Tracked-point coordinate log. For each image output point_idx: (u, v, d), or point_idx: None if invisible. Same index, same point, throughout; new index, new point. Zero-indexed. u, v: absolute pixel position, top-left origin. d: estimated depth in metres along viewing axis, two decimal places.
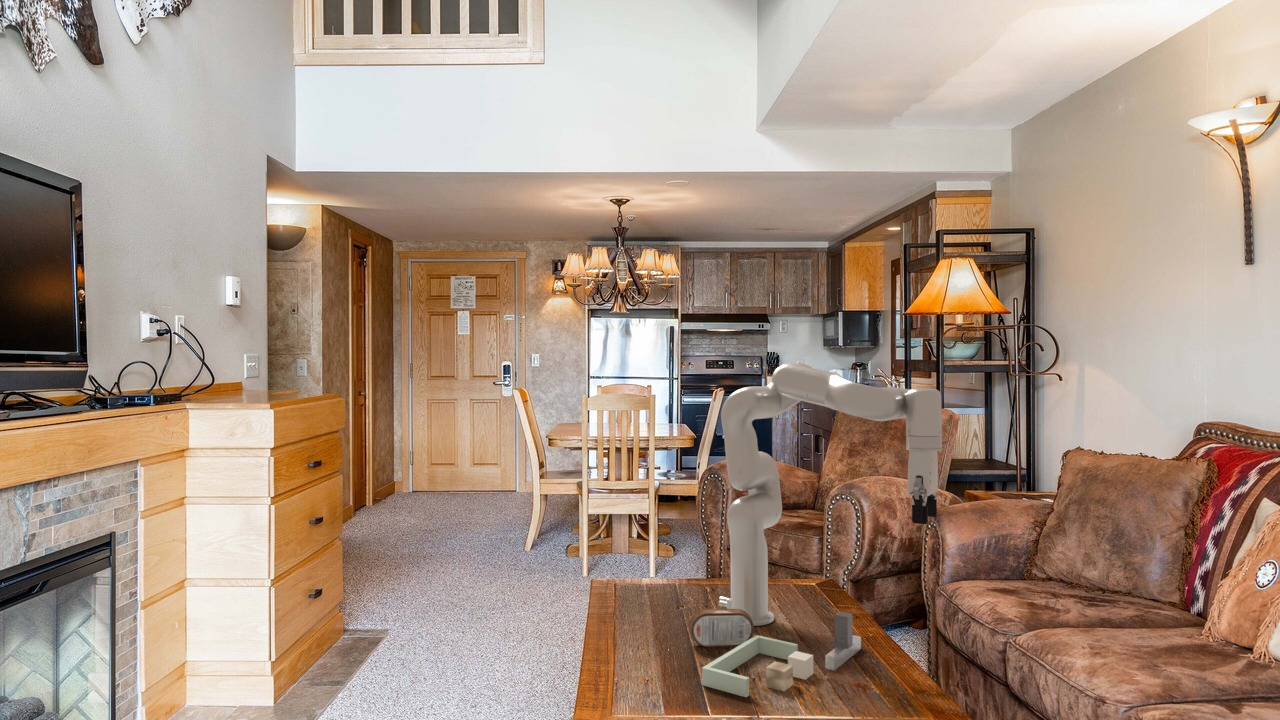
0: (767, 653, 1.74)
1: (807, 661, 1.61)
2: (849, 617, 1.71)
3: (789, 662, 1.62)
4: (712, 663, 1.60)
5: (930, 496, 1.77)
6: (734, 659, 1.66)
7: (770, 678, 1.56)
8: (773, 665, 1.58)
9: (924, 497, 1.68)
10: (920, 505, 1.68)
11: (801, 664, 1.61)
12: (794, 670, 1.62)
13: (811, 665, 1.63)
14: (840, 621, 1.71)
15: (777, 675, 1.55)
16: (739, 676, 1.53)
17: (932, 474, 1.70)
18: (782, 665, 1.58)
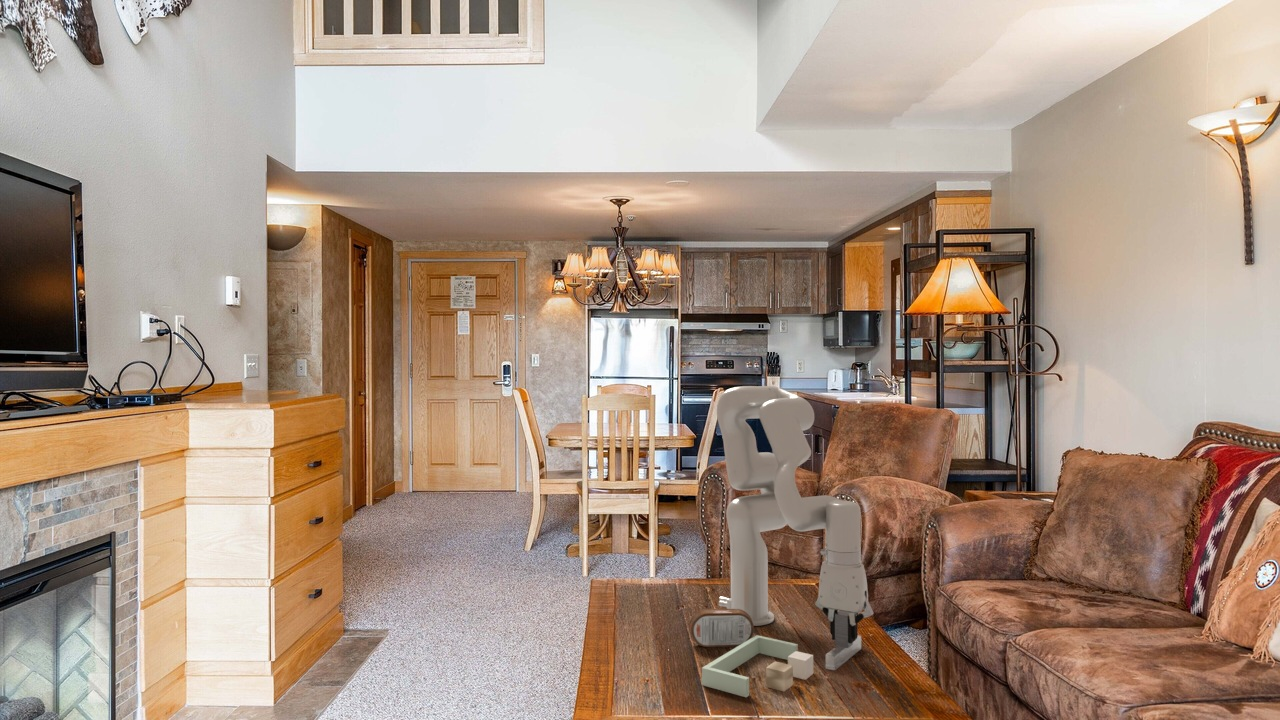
0: (767, 653, 1.74)
1: (807, 661, 1.61)
2: None
3: (789, 662, 1.62)
4: (712, 663, 1.60)
5: None
6: (734, 659, 1.66)
7: (770, 679, 1.56)
8: (773, 665, 1.58)
9: None
10: None
11: (801, 664, 1.61)
12: (794, 670, 1.62)
13: (811, 665, 1.63)
14: (840, 620, 1.71)
15: (777, 675, 1.55)
16: (739, 676, 1.53)
17: None
18: (782, 665, 1.58)
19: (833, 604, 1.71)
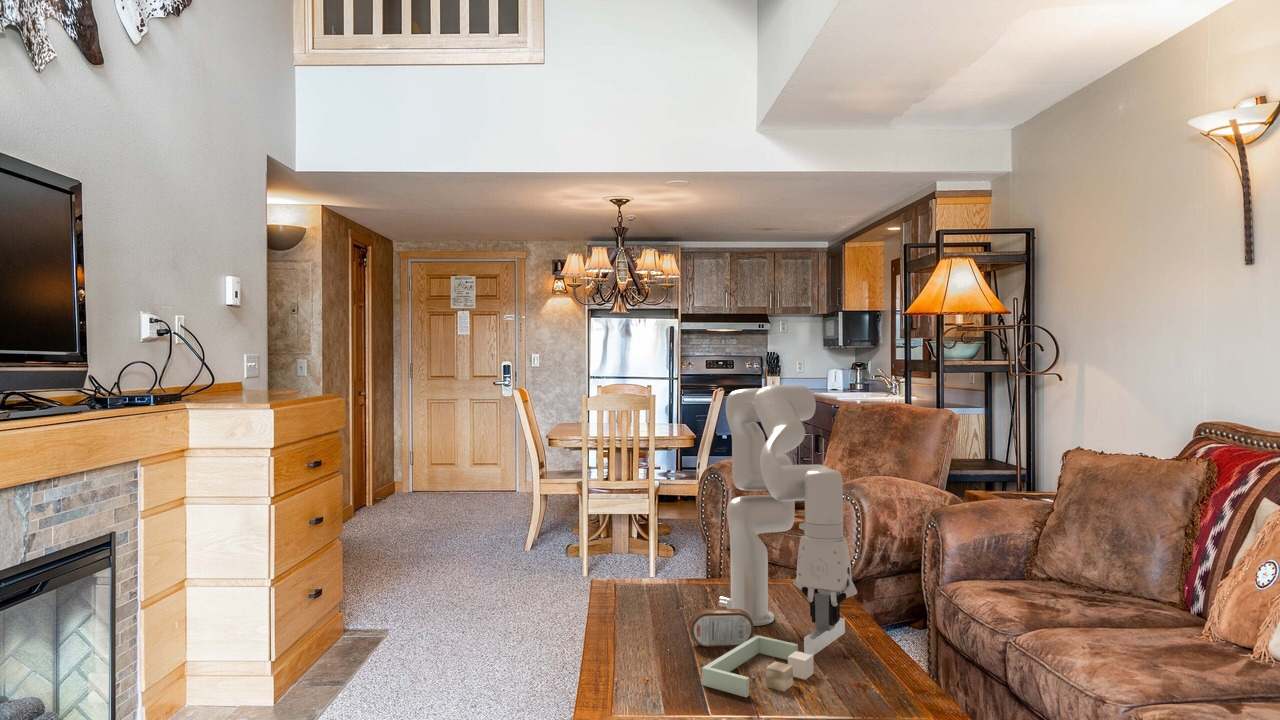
0: (767, 653, 1.74)
1: (807, 661, 1.61)
2: None
3: (789, 662, 1.62)
4: (712, 663, 1.60)
5: None
6: (734, 659, 1.66)
7: (770, 679, 1.56)
8: (773, 665, 1.58)
9: None
10: (839, 603, 1.54)
11: (801, 664, 1.61)
12: (794, 670, 1.62)
13: (811, 665, 1.63)
14: (821, 600, 1.55)
15: (777, 675, 1.55)
16: (739, 676, 1.53)
17: None
18: (782, 665, 1.58)
19: (813, 582, 1.54)
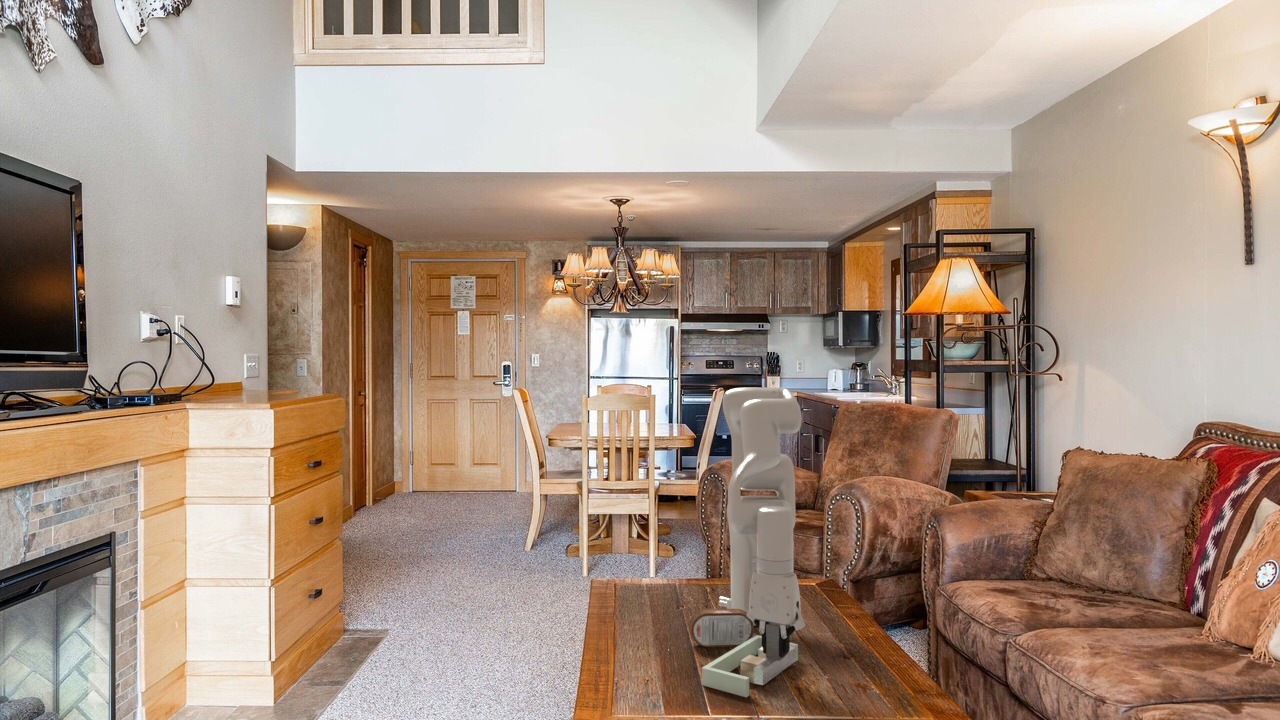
0: None
1: None
2: None
3: (759, 654, 1.66)
4: (712, 663, 1.60)
5: None
6: (734, 659, 1.66)
7: (744, 671, 1.59)
8: (747, 658, 1.61)
9: None
10: (789, 636, 1.61)
11: None
12: None
13: None
14: (771, 631, 1.61)
15: (751, 668, 1.59)
16: (739, 676, 1.53)
17: None
18: (756, 658, 1.61)
19: (764, 616, 1.61)
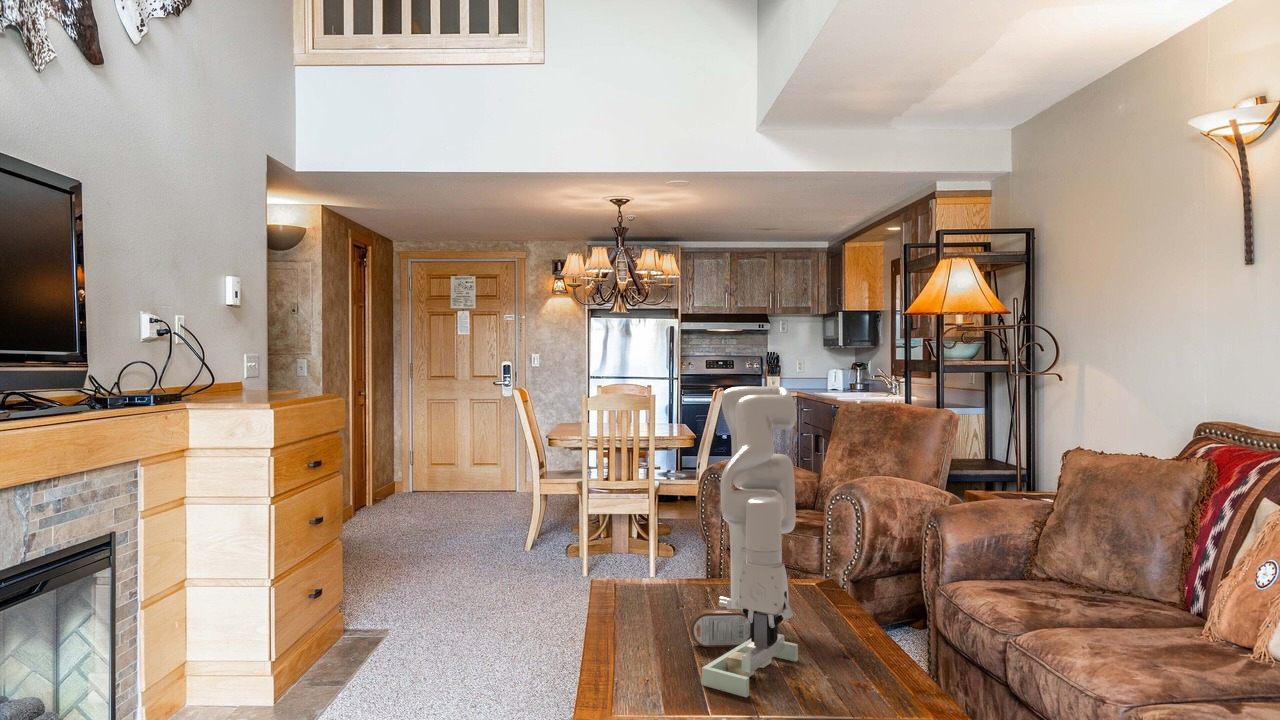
0: None
1: None
2: None
3: (747, 651, 1.68)
4: (712, 663, 1.60)
5: None
6: None
7: (731, 668, 1.61)
8: (734, 655, 1.63)
9: None
10: (777, 625, 1.63)
11: None
12: None
13: None
14: (759, 620, 1.63)
15: (738, 664, 1.61)
16: (739, 676, 1.53)
17: None
18: (743, 654, 1.63)
19: (752, 605, 1.63)
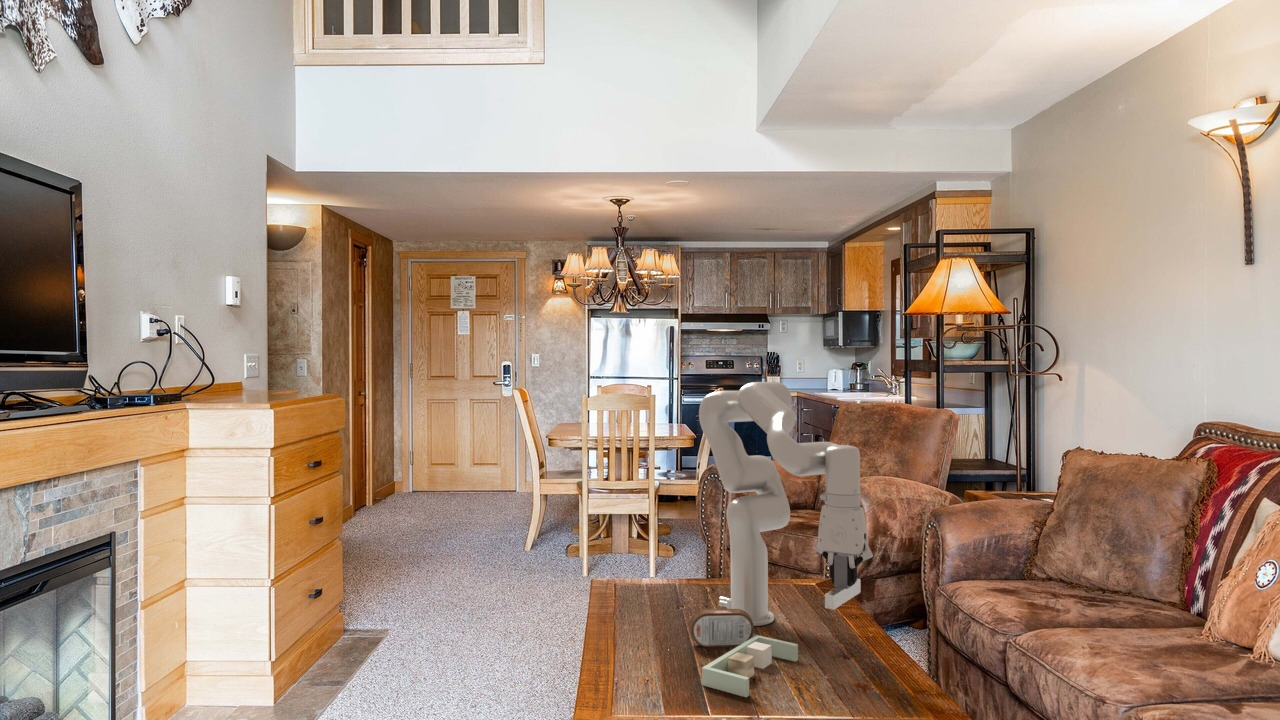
0: None
1: (765, 651, 1.67)
2: None
3: (748, 652, 1.68)
4: (712, 663, 1.60)
5: None
6: None
7: (732, 669, 1.61)
8: (735, 655, 1.63)
9: None
10: (856, 566, 1.71)
11: (759, 654, 1.67)
12: None
13: (769, 655, 1.69)
14: (839, 561, 1.71)
15: (738, 665, 1.60)
16: (739, 676, 1.53)
17: None
18: (744, 656, 1.63)
19: (832, 547, 1.71)
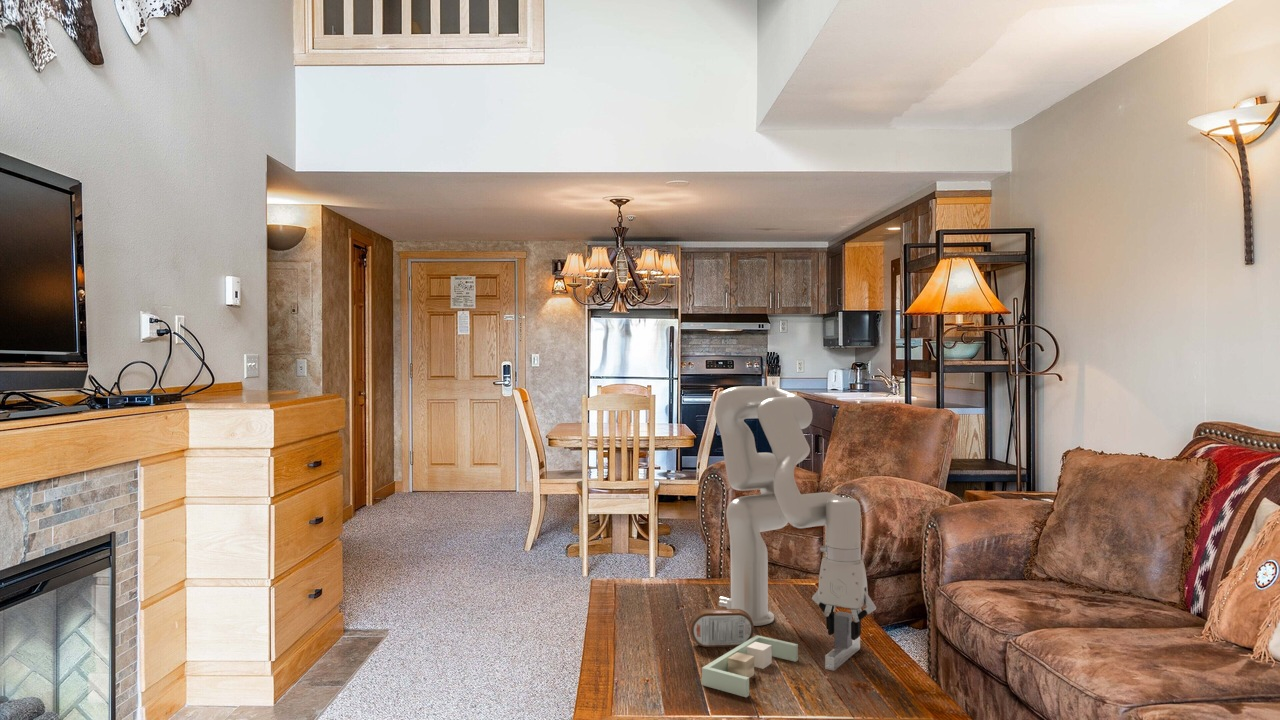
0: None
1: (765, 651, 1.67)
2: (849, 617, 1.71)
3: (748, 652, 1.68)
4: (712, 663, 1.60)
5: (832, 612, 1.74)
6: None
7: (732, 669, 1.61)
8: (735, 655, 1.63)
9: (861, 611, 1.71)
10: None
11: (759, 654, 1.67)
12: None
13: (769, 655, 1.69)
14: (839, 621, 1.71)
15: (738, 665, 1.60)
16: (739, 676, 1.53)
17: None
18: (744, 656, 1.63)
19: (833, 601, 1.71)
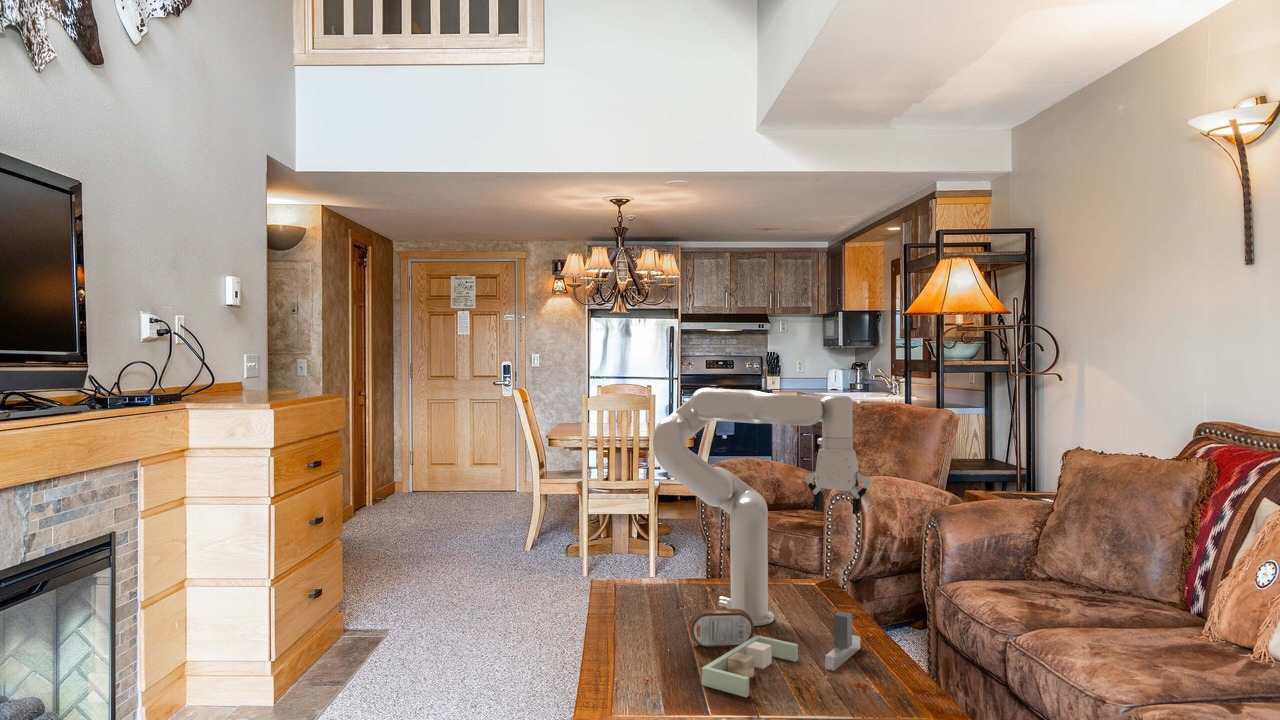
0: None
1: (765, 651, 1.67)
2: (849, 617, 1.71)
3: (748, 652, 1.68)
4: (712, 663, 1.60)
5: (820, 491, 1.99)
6: None
7: (732, 669, 1.61)
8: (735, 655, 1.63)
9: (859, 489, 1.94)
10: None
11: (759, 654, 1.67)
12: None
13: (769, 655, 1.69)
14: (839, 621, 1.71)
15: (738, 665, 1.60)
16: (739, 676, 1.53)
17: None
18: (744, 656, 1.63)
19: (828, 484, 1.95)
